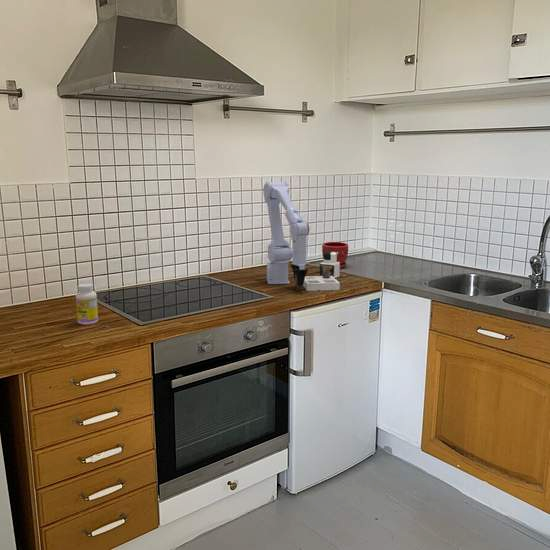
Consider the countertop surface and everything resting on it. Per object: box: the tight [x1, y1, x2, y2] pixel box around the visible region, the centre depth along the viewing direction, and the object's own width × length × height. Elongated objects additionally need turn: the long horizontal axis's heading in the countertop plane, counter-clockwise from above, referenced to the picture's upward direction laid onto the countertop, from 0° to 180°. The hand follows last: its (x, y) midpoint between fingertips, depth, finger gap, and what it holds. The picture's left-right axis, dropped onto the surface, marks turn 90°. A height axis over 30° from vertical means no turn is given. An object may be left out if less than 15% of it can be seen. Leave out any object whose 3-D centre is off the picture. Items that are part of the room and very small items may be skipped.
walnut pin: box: [294, 273, 303, 292], centre depth 232 cm, size 3×3×7 cm
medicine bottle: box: [319, 252, 341, 279], centre depth 255 cm, size 7×7×12 cm
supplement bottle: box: [75, 283, 99, 326], centre depth 185 cm, size 7×7×13 cm
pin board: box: [302, 266, 341, 292], centre depth 238 cm, size 14×14×8 cm
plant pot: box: [321, 241, 349, 269], centre depth 280 cm, size 13×13×12 cm
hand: (299, 283), depth 232 cm, fingers open, 7 cm apart
